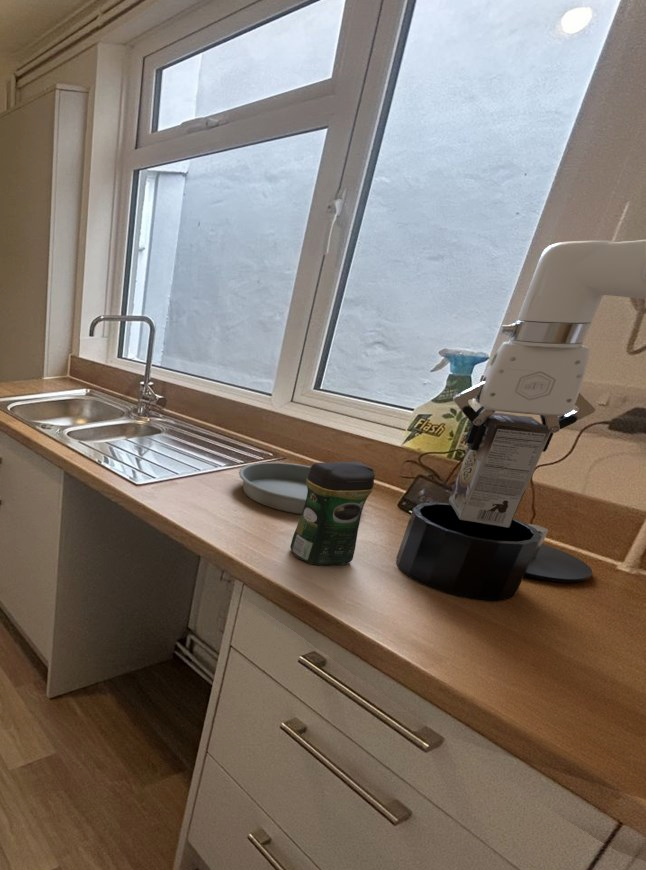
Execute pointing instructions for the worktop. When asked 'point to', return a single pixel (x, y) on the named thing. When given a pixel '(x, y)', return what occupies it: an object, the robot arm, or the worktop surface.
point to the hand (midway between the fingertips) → (501, 450)
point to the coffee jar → (332, 512)
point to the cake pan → (276, 485)
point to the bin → (465, 553)
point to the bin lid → (556, 563)
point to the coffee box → (498, 469)
